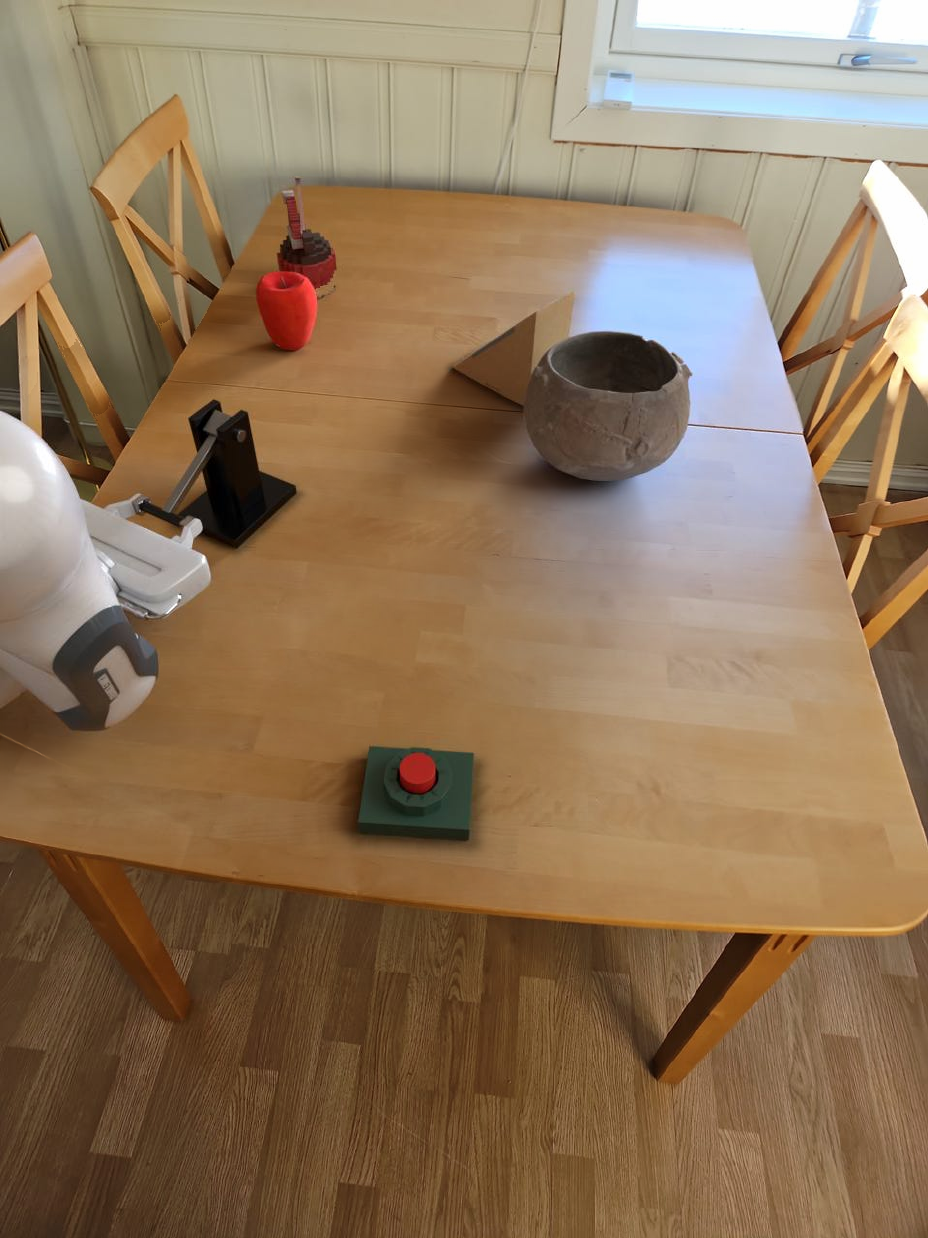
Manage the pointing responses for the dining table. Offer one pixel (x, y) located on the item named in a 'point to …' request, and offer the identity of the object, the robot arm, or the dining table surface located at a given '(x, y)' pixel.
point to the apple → (287, 308)
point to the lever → (189, 473)
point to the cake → (305, 246)
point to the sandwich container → (519, 350)
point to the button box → (417, 796)
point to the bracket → (234, 481)
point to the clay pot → (607, 405)
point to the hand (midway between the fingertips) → (170, 510)
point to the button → (417, 773)
